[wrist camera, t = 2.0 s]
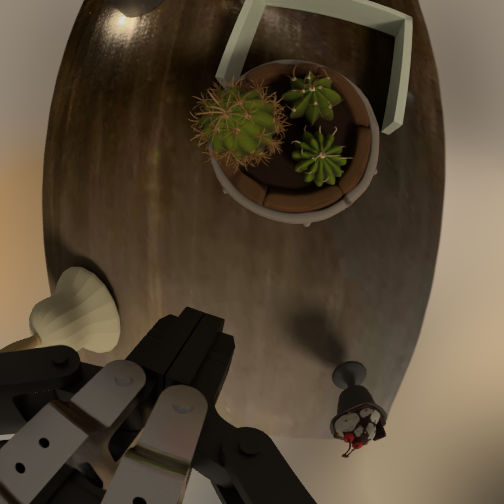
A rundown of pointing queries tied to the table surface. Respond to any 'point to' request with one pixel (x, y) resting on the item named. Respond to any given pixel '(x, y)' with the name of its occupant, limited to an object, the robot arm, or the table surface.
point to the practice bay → (340, 6)
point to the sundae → (356, 409)
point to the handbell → (74, 316)
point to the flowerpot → (291, 140)
